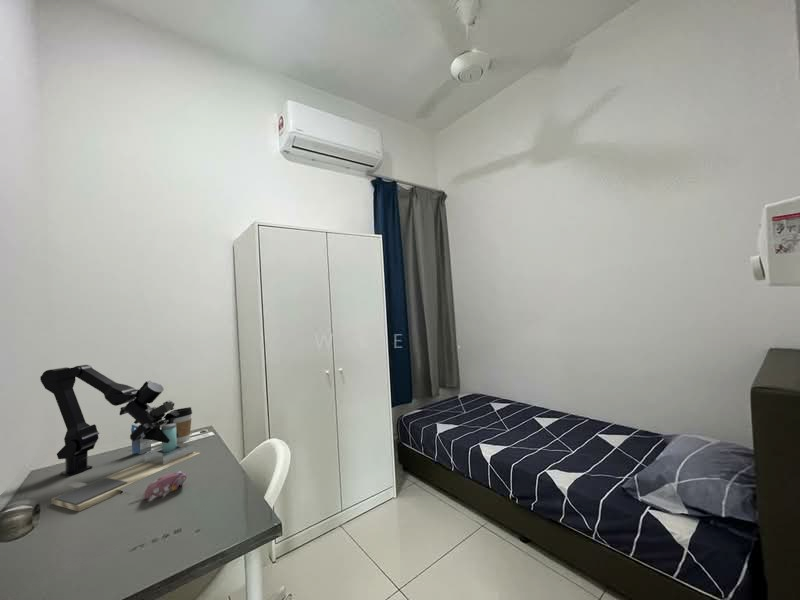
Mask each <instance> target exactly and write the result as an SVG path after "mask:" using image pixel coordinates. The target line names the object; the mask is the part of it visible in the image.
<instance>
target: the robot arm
mask: <svg viewBox="0 0 800 600" xmlns="http://www.w3.org/2000/svg"><path fill="white" fill-rule="evenodd" d="M76 378H77V379H79V380H81V381H82V382H84V383H85V384H86V385H87V384H88V385H89V386H91V387H93V388H94V389H95V390H98V392H100V393H102V394H103V396H104V399H105V400H106V401H108V403H109V404H110V405H112V406H114V407H115V406H116V407H117V406H121V405H124V404H126V405H125V406H121V407H120V408H119V409H120V411H119V416H122V415H125V414H128V415H129V416H130V417H132V419H134V422H133V423H134V425H137V424H139V425H137V426H138V427H137V428H134V431H133V433H132V434H130V435H129V439H130V440H131V442H132V441H133V442H136V441H138V440H140V439H141V435H142V434H143V433H144V435H145V437H144V438H143V440H144V439H148V440H151V441H155V442H160V443H162V442H164V443H168V442H169V441H170V440H169V439H168V437H167V436H166V435H165V434H164V433H163V432H162V426H164V425H167V424H172V423H173V422H174V420H175V419H176V418H177V417H178V415H179V413H178V412H177V411H173V410H175V408H174V407H175V403H174V402H173V400H166V401H165V402H163V403H162V404H160V405H159V406H157V407H156V406H153V407H152V406H150V405H149V404H152V403H153V402H154V401H155V400H157V398H158V397H160V395H161V394H162V392H163V393H164V391H165V388H164V387H163V385H161V384H159V383H157V382H155V381H154V382H153V381H151V380H147V381H145V382H144V383H143V384H142V385H141V387H140V388H139V389H136V388H134V387H132V386H130V385H128V384H124V383H118V382H115V381H114V380H113V379H111V378H109V377H107V376H106V375H104V374H102V373H101V372H99V371H97V370H96V369H94V368H93V367H92V365H88V364H81V365H76V366H73V367H59V368H52V369H48V370H45V371H44V372H43V373H42V375H41V376H40V382H41V384H42V386H43V387H44V389H45V390H47V391H48V392H50V393H52V394H53V395H54V398H55V400H56V403H57V406H58V408H59V412H60V413H61V416H62V419H63V422H64V425H65V427H66V428H65V429H66V433H65V435H64V439H63V441H64V445H63V447H62V448H61V449H59V451H58V452H57V453H56V456H57V457H56V458H57V459H58V460H65V462H64V464H65V466H64V467H65V470H64V471H61V472H60V475H64V476H68V477H69V476H73V475H75V474H78V473H81V472H85V471H87V470H89V469H92V468H93V466H92V465H89V463H88V460H89V459H88V457H89V456H88V453H89V451H90V450H94V448H95V445H96V443H97V442H98V440H99V434H100V432H99V431H98V429H97V425H96V424H91V425H90V424H88V423H87V422H86V420H85V417H84V414H83V412H82V408H81V407H80V404H79V401H78V398H77V395H76V393H75V390H74V386H75V383H76V380H77V379H76ZM171 411H172V412H171ZM177 437H178V434H177V432H176V438H177Z"/></svg>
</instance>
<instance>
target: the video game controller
mask: <svg viewBox="0 0 800 600" xmlns="http://www.w3.org/2000/svg"><path fill="white" fill-rule="evenodd" d="M186 480H187V475H186V474H185V473H184V472H183V471H181V470H179V471H177V472H172V473H171V472H170V473H167V474H164V475H162V476H161V477H159V478H157V479H154V480H152V481H151V482H150V483H149V484H148V486H147V488H146V489H145V490H144V494H143V497H144V499H145V500H148V499H150V498H151V497H152V496H155V497H157V498H160V497H163V496H164V495H165V493H166V489H165V487H167V486H168V488H167V489H168V491H169V493H172V491H173V492H174V490H175V491H176V490H177V489H178V488H179V485H180V486H182V485H183V484H184V483H185V481H186ZM159 496H160V497H159Z"/></svg>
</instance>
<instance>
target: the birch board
mask: <svg viewBox="0 0 800 600" xmlns="http://www.w3.org/2000/svg"><path fill="white" fill-rule="evenodd" d="M199 454H200V452H198V451H194V453H192V454H189V455H187V456H185V457H182V458H180V459H178V460H175V461H173V462H171V463H168V464H166V465H164V466H162V465H156V464H149V463H144V461H142V462H141V463H138V464H135V465H133V466H130V467H128V468H125V469H123V470H120V471H117V472H114V473H113V474H112V473H111V474H110V475H108V476H105V477H103V478H110V479H115V480H120V481H125V482H127V483H126V484H124V485H122V486H119V487H117V488H115V489H113V490H110V491H108V492H106V493H103V494H101V495H99V496H96V497H94V498H92V499H90V500H87V501H85V502H83V503H80V504H78V505H73V504H70V503H66V502H62V501H58V500H55V499H54V498H55V497H58V496H60V495H63V494H65V493H68V492H69V491H68V492H64V493H62V494H60V495H57V496H55V497H53V498H51V505H54V506H57V507H62V508H64V509H68V510H72V511H75V512H79V513H80V512H81V511H84V510H86V509H88V508H90V507H92V506H94V505H97V504H99V503H101V502H103V501H106V500H108V499H110V498H112V497H115V496H117V495H119V494H121V493H124V492H123V491H124V490H120V489H122V488H124V487H126V486H128V485H130V484H133V483H135V482H138V481H139V480H142V479H144V478H146V477H149V476H151V475H153V474H156V473H158V472H160V471H163V470H165V469H167V468H170V467H171V466H173V465H177V464H178V463H180V462H183V461H185V460H188V459H190V458H192V457H195V456H196V455H199ZM103 478H101V479H103ZM98 480H99V479H97V480H96V481H98ZM93 482H94V481H92V482H91V483H93ZM88 484H89V483H87V484H86V485H88ZM83 486H84V485H83ZM83 486H81V487H83ZM78 488H79V487H77V488H76V489H78ZM73 490H74V489H73ZM73 490H71V491H73Z"/></svg>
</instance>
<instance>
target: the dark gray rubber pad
mask: <svg viewBox="0 0 800 600" xmlns="http://www.w3.org/2000/svg"><path fill="white" fill-rule="evenodd" d="M97 480H98V481H97ZM97 480H95V481H92V482H93V483H92V482H90V483H87V484H88V485H87V484H86V485H85V484H84V485H83V487H82V486H80V487H77V488H78V489H77V488H75V489H73V491H72V490H70V491H68V493H67V492H64V493H65V494H64V493H62V494H63V495H62V494H60V496H59V495H57V496H58V497H57V496H55V498H54V497H53V498H54V499H55V500H58V501H62V502H66V503H70V504H73V505H78V504H80V503H83V502H85V501H87V500H90V499H92V498H94V497H96V496H99V495H101V494H103V493H106V492H108V491H110V490H113V489H115V488H117V487H119V486H122V485H124V484H126V483H127V482H125V481H120V480H115V479H110V478H105V477H103V479H102V478H100V479H97Z"/></svg>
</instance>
